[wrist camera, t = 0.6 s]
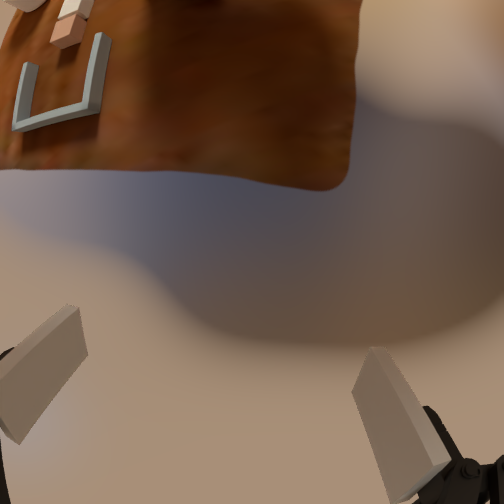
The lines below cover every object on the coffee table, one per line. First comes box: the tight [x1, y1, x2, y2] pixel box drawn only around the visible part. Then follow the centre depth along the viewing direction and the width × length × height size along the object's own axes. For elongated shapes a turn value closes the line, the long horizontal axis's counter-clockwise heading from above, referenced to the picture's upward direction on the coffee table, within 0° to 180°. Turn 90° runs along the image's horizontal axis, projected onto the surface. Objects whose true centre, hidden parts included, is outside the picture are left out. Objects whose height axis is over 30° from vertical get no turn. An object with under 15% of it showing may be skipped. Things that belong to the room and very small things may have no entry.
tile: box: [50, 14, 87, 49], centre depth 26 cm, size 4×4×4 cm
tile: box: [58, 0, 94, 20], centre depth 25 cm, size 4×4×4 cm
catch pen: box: [12, 32, 112, 132], centre depth 29 cm, size 13×18×4 cm
